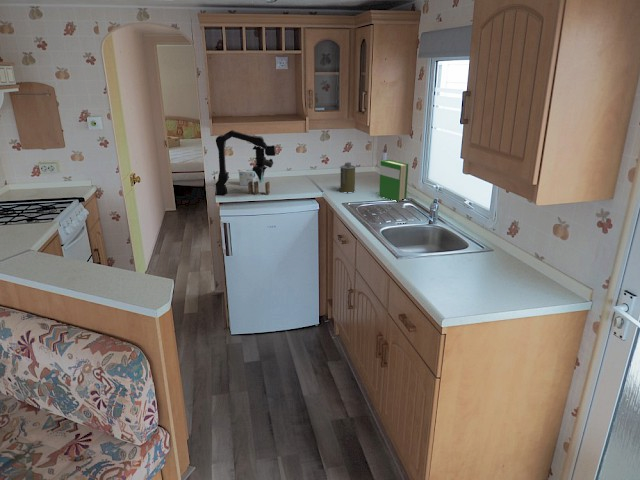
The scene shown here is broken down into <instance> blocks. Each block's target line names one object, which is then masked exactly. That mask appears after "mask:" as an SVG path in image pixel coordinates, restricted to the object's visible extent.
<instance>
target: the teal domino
mask: <svg viewBox="0 0 640 480" xmlns="http://www.w3.org/2000/svg"><path fill="white" fill-rule="evenodd" d="M264 178H265V177H264V176H263V172H262V176H261V180H259V179H258V180H259V181H258V184H260V183H263V182H264Z"/></svg>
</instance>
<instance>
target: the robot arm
mask: <svg viewBox="0 0 640 480" xmlns="http://www.w3.org/2000/svg"><path fill="white" fill-rule="evenodd" d="M231 138H235V139H239V140H241V141H246V142H248V143H250V144H252V145H254V146H253V147H252V150H255V158H254V159H255V164H254V165H253V167H252V169H251V170H253V171H255V175H256V176H257V178H258V180H261V176H262V172H263V177H264V176H265V172H266V171H265V170H266V169H267V168H269V169H270V168H272V167H273V164H274V161H273V158H270V159H266V157H275V156H276V148H275V147H276V145H274V144H273V145H268V144H267V143H266V142H265V139H264V137H263V136H260V135H249V134H247V133H242V132H240V131H235V130H233V129H231V130H230V131H228V132H226V133H225V134H219V135H218V136H216V138H215V143H216V147H217V149H218V163H219V164H218V167H219V173H218V176H217V177H218V178H217V181H216V182H215V184H214V185H215V196H226V195H227V194H228V187H227V185H226V183H227V182H228V180H229V178H230V175H229V174H230V173H229V172H228V171H227V169H226V168H227V167H226V151H225V149H226V145H227V141H228V140H229V139H231ZM225 194H226V195H225Z"/></svg>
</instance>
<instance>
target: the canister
mask: <svg viewBox="0 0 640 480" xmlns="http://www.w3.org/2000/svg"><path fill="white" fill-rule="evenodd" d="M339 168H340V185H339V187H340V189H339V192H340V191H341V192H340V193H342V192H353V193H355V192H356V190H355V188H356V166H355V165H352V162H351V161H350V162H349V161H348V162H345V163H344V165H340V166H339ZM354 191H355V192H354Z"/></svg>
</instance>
